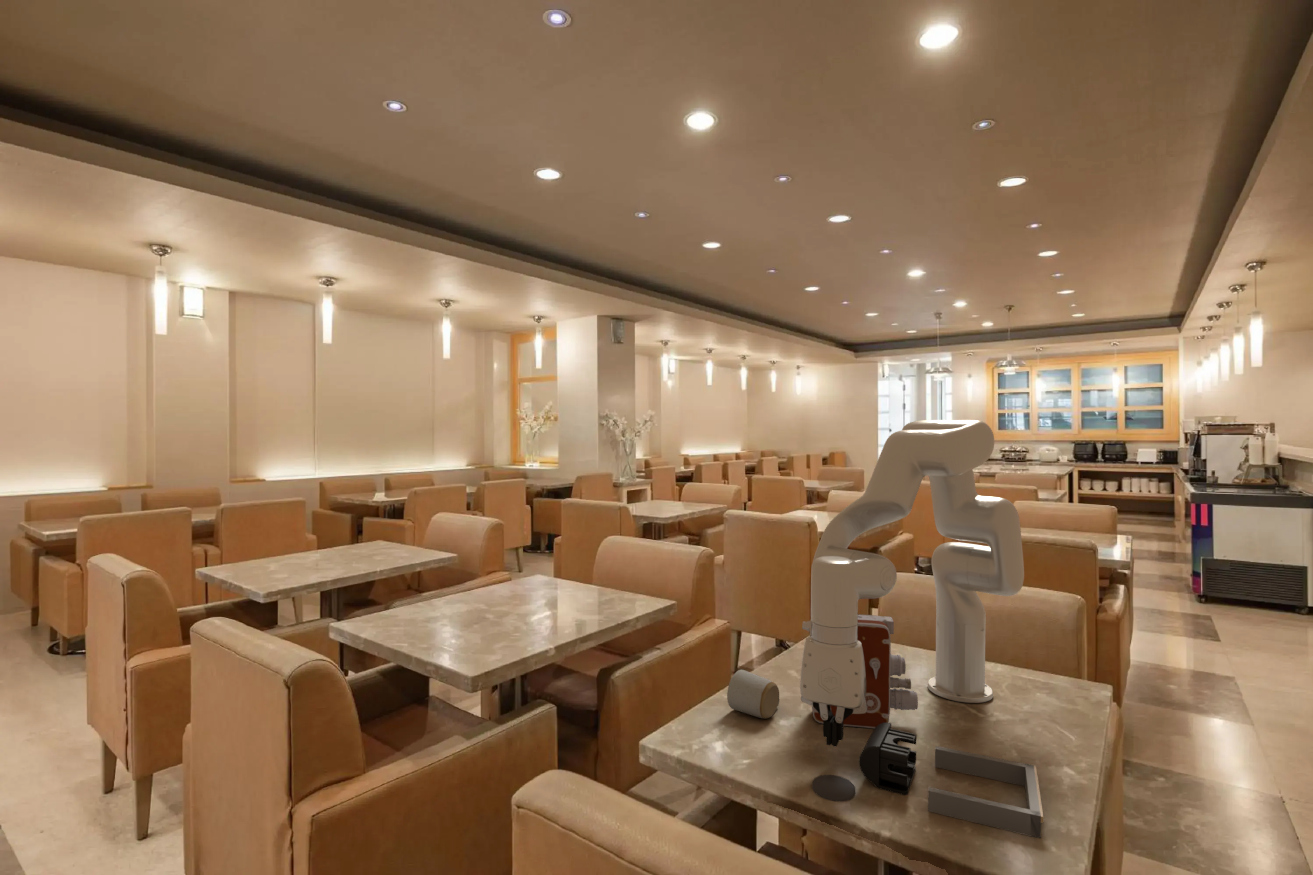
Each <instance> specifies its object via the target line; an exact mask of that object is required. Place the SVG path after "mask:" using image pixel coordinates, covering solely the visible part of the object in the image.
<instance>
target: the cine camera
mask: <svg viewBox="0 0 1313 875" xmlns="http://www.w3.org/2000/svg"><path fill="white" fill-rule="evenodd" d="M894 622H895V621H894V620H893V618H892V617H891V616H882V615H874V614H873V615H872V614H860V613H859V614H858V641H860V642H861V644H862V648H863V654H864V661H865V672H866V697H865V700H866V704H867V711H866V713H864V714H851V715H850V716H849V717H847V718H846V719H845V720H843V727H855V728H865V729H875V727H876V726H877V725H879V724H881V723H890V714H891V709H894V710H900V711H904V710H906V711H910V710H911V711H915V710H918V707H919V698H918V692H917V691H915V690H911V689H912V681H911V678H899V677H901V676H902V675H905V674H906V671H907V668H906V667H907V666H906V665H907V664H906V659H905V657H901V655H900V654H896V655H895V654H892V652H891V635H894V633H895V631H894V630H895V623H894ZM893 676H897V677H893ZM811 710H812V712H811V713H812V716H813V720H814V721H815V722H817V723H819V724H822V725H823V719H822V718H821V715H820V714H819V713H818V711H817V710H816V709H815V708H814V707H813V706H812V705H811ZM831 710H832V713H833V715H834V716H835V715H836V711H837V706H832V705H831Z"/></svg>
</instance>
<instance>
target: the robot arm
mask: <svg viewBox="0 0 1313 875" xmlns="http://www.w3.org/2000/svg"><path fill="white" fill-rule="evenodd" d="M994 448H995V436H994V432H993V430H992V428H991V427H990V426H989V424H988V423H986V422H984V421H982V420H979V419H978V420H976V419H924V420H923V419H922V420H915V421H910V422H908V423H906V424H905V425H904V426H903V427H902V429H901V430H898V431H895V432H893V433H891V434H890V435H889V436H888V438H887V439H886V440H885V443H884V445H883V447H882V450H881V452H880V454H879V457H878V460H877V462H876V465H875V467H874V469H873V472H872V475H871V477H870V479H869V481H868V484H867V486H866V489H865V491H864V493H863V495H862V496H860V497H859V498H857V499H856V500H854V501H853V502H851V503H850V504H849V505H847V506H846V507H845V508H843V509H842V510H841V511H840V512H839V513H837V514H836V515H835V517H833V518H832V519H831V520H830V521H829V523H828V524H827V525H826V527H825V529H824V531H823V533H822V534H821V538H820V540H819V542H818V544H817V547H816V550H815V552H814V556H813V559H812V563H811V567H810V568H811V570H810V571H811V573H810V576H811V577H810V620H806V621H805V620H804V621H802V626H801V629H802V630H805V631H807V632H808V633H809V635H808V636H807V637H806V638H805V641H804V645H803V649H802V650H803V651H802V659H801V670H800V671H801V672H800V682H799V684H800V685H799V688H800V690H799V691H800V702H802V703H805V704H807V705H809V706H811V707H812V706H813V707H814V708H815V709H816V710H817V711H818V713H819V714H820V715H821V718H822V719H823V724H822V727H823V730H822V734H823V735H822V736H823V737H825V738H826V739H825V742H826V745H827V746H833V747H835V748H836V747H837V746H838V745H839V742H840V741H843V739H844V726H843V720H845V719H846V718H847V717H849V716H850V715H851V714H864V713H866V711H867V704H866V700H865V697H866V672H865V661H864V654H863V648H862V644H861V642H860V641H858V613H859V612H858V611H859V606H858V605H859V600H862V599H863V600H865V599H867V600H871V599H872V600H873V599H880V598H883V597H886V595H888V594H889V593H891V592H892V591H893V589H894V588H895V585H896V583H897V578H898V577H897V569H896V566H895V564H894V563H893V562H892V561H891V560H890V559H889V558H887V557H886V556H884V555H882V554H879V553H874V552H869V551H868V552H867V551H863V550H857V549H849V546H850V545H851V543H852V542H853V541H854V540H855V539H856V538H858V537H859V536H860V535H861V534H863V533H865V532H867V531H870V530H872V529H875V528H878V527H881V526H884V525H887V524H890V523H893V522H897V521H899V520H902V519H904V518H906V517H907V516H908V515H909V514H910V513H911V512H912V510H913V509H912V508H913V505H914V503H915V500H916V497H917V495H918V492H919V490H920V486H921V485H922V482H923V478H924V477H926V476H928V479H929V486H930V494H931V502H932V511H933V519H934V525H935V527H936V531H937V532H938V533H939V534H940V536H943V537H945V538H948V539H952V540H956V541H951V542H950V541H949V542H944V543H941V544H939V545H937V547H936V548H935V549H934V551H933V553H932V556H931V569H932V570H931V571H932V574H933V580H934V587H935V600H936V601H935V603H936V606H935V607H936V609H935V613H936V615H935V616H936V618H935V676H933V677H931V678H930V679H929V678H928V681H927V688H928V690H929V691H930V692H931V693H933V694H934V695H936V696H939V697H941V698H942V699H946V700H949V701H955V702H959V703H966V704H967V703H968V704H969V703H970V704H979V703H987V702H989V701H991V700H992V699H993V698H994V691H993V689H992V688H991V687H990V686H989V685H988V684H986V616H987V615H986V609H985V606H984V604H983V601H982V599H981V598H980V596H979V595H978V593H985V594H989V595H994V596H995V595H996V596H1001V597H1011V596H1015V595H1017V594H1018V593H1019V592H1020V591H1021V590H1022V588H1023V584H1024V581H1025V567H1024V566H1025V563H1024V552H1023V551H1024V550H1023V541H1022V540H1023V539H1022V531H1021V522H1020V515H1019V513H1018V512H1019V511H1018V510H1017V507H1016V506H1015V504H1013V502H1011V501H1010V500H1009V499H1007V498H1004V497H999V496H989V495H980V494H979V493H978V491H977V489H976V482H975V481H976V479H975V473H974V470H973V469H976V468H977V467H978V468H979V467H980V466H981V465H983V464H986V462H987V461H988V460H989V459H990V457H991V456H992V453H993V451H994ZM957 540H958V542H957ZM959 541H965V542H959ZM968 542H972V543H968ZM976 543H981V544H987V545H981V544H976ZM977 592H978V593H977ZM831 705H832V706H837V711H836V715H835V716H834V715H833V713H832V710H831Z"/></svg>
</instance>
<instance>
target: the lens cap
mask: <svg viewBox="0 0 1313 875" xmlns="http://www.w3.org/2000/svg"><path fill="white" fill-rule="evenodd" d="M811 786H812V791H813V793H815V794H816V796H818V797H821V798H823V799H825V800H828V801H831V802H832V801H833V802H847V801H850V800H852V799H853V798H855V796H856V786H855V784H854V783H853V782H852V781H851V780H849V779H847V778H846V777H844V776H843V777H842V776H840V775H836V774H835V775H834V774H823V775H822V774H821V775H818V776H816V777H814V779H813V780H812V785H811Z"/></svg>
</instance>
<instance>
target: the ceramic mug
mask: <svg viewBox="0 0 1313 875" xmlns="http://www.w3.org/2000/svg"><path fill="white" fill-rule="evenodd" d="M726 694H727V697H726V699H727V703H728V706H729V707H730V709H732V710H734V711H738V712H741V713H742V714H747V715H751V716H753V717H756V718H758V719H770V718H771V717H772V716H773V715H774V714H775V713H776V710H777V708H778V706H779V704H780V690H779V687H778V684H777V683H775V682H774V681H772V680H770V679H768V678H766V677H763V676H760V675H757V674H754V673H753V672H750V671H748V670H746V669H745V670H744V669H738V670H737V671H736V672H734V674H732V677H731V678H730V680H729V683H728V686H727V692H726Z"/></svg>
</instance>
